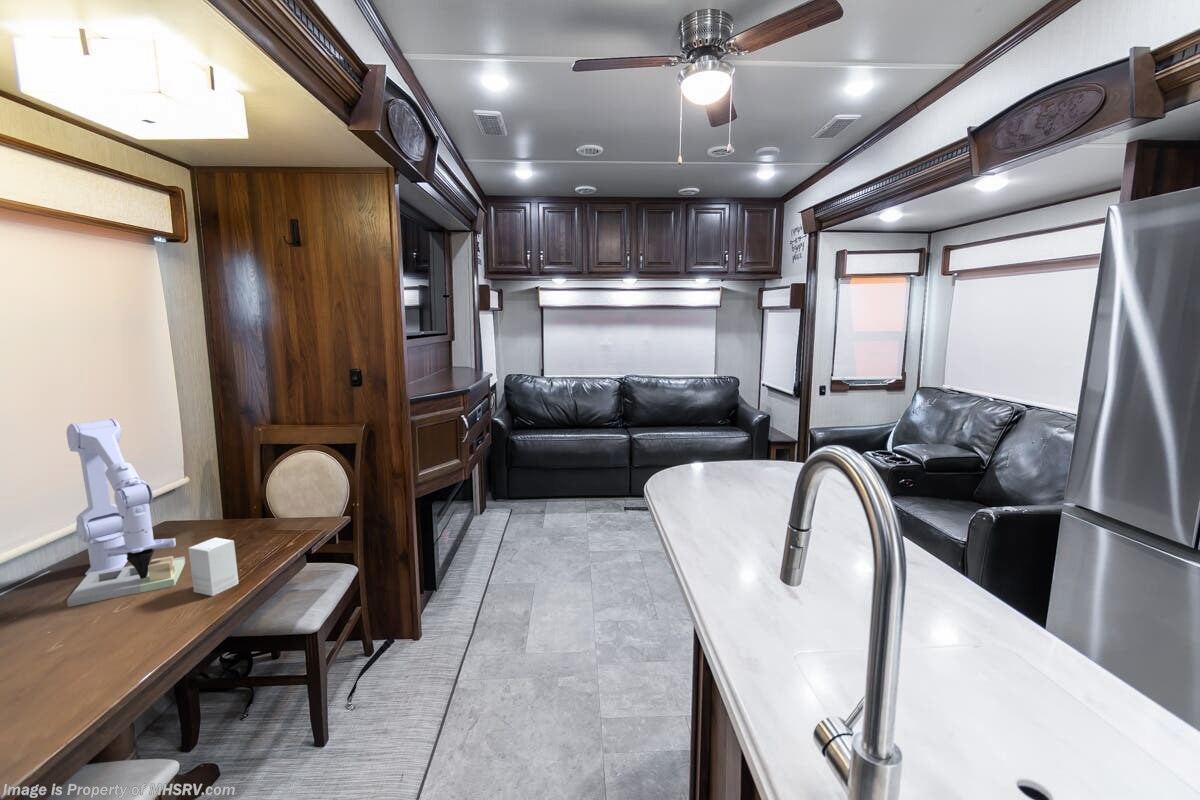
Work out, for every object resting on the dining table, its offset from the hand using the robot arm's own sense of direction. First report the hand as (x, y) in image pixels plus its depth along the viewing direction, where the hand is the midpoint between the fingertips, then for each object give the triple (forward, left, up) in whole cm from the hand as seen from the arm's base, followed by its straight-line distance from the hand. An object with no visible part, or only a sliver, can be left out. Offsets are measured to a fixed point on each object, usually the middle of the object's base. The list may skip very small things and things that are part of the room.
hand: (144, 576), depth 139 cm
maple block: (0, +4, -1) cm, 4 cm away
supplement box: (+10, +17, -3) cm, 20 cm away
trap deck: (-5, -4, -3) cm, 7 cm away
